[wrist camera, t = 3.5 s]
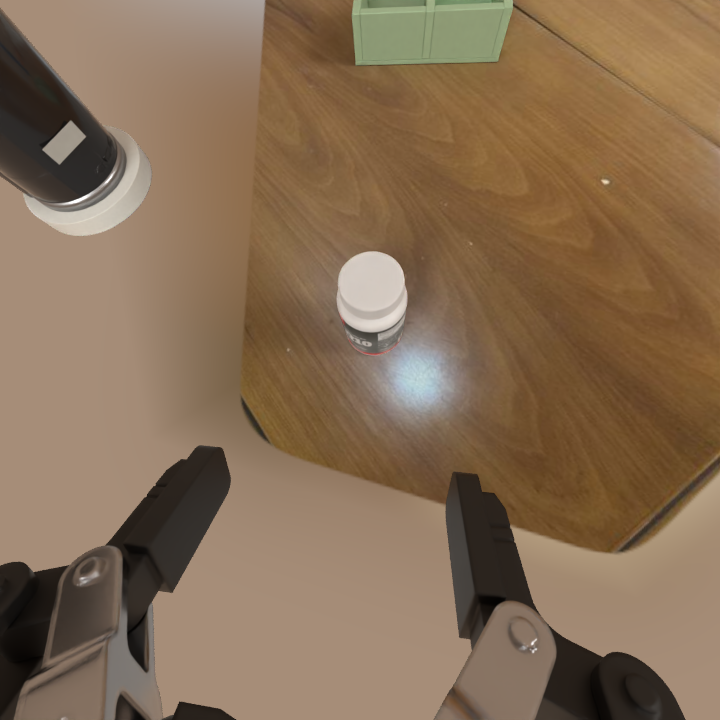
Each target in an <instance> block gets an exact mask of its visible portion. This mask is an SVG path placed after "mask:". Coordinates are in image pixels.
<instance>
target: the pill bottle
mask: <svg viewBox="0 0 720 720" xmlns="http://www.w3.org/2000/svg"><path fill="white" fill-rule="evenodd" d="M404 283H405V280H404V273H403V270H402V268H401V266H400V265H399V263H398V262H397V261H396V260H395V259H394V258H392V257H391V256H389V255H387V254H385V253H382V252H377V251H369V252H363V253H360V254H358V255H355V256H354V257H352V258H351V259H349V260H348V261H347V262H346V263H345V265H344V266H343V267H342V269H341V271H340V273H339V277H338V288H339V289H338V293H337V307H338V311H339V314H340V317H341V320H342V323H343V326H344V329H345V332H346V335H347V338H348V340H349V342H350V343H351V345H352V346H353V347H354V348H355V349H356V350H358V351H359V352H361V353H363V354H366V355H372V356H375V355H381V354H384V353H387V352H389V351H391V350H392V349H393V348H394V347H395V346H396V345H397V344H398V343H399V341H400V339H401V337H402V334H403V328H404V321H405V314H406V308H407V290H406V287H405V285H404Z"/></svg>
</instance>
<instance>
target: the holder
mask: <svg viewBox="0 0 720 720" xmlns="http://www.w3.org/2000/svg"><path fill="white" fill-rule="evenodd" d="M512 10H513V0H354V2H353V9H352V24H353V37H354V49H355V60H356V61H355V62H356V65H389V64H429V63H469V62H498V59H499V56H500V52H501V48H502V45H503V41H504V38H505V34H506V31H507V27H508V24H509V20H510V17H511V13H512Z"/></svg>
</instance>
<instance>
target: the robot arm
mask: <svg viewBox="0 0 720 720" xmlns="http://www.w3.org/2000/svg"><path fill="white" fill-rule="evenodd" d="M126 163H127V159H126V153H125V150H124V148H123V147H122V145H121V144H120V143H119V142H118V141H117V139H116V138H115V137H114V136H113V135H112V134H111V133H110V132H109V131H107V130H106V128H105V127H104V126H103V125H102V124H101V123H100V122H99V120H98V119H97V118H96V117H95V116H94V115H93V114H92V113H91V111H90V110H89V109H88V108H87V107H86V105H85V104H84V103H83V102H82V101H81V100H80V98H79V97H78V96H77V95H76V94H75V93H74V92H73V90H72V89H71V88H70V87H69V86H68V85H67V84H66V82H65V81H64V80H63V79H62V78H61V77H60V76H59V74H58V73H57V72H56V71H55V70H54V69H53V68H52V66H51V65H50V64H49V63H48V62H47V61H46V60H45V58H44V57H43V56H42V55H41V54H40V53H39V52H38V50H37V49H36V48H35V47H34V46H33V45H32V43H31V42H30V41H29V40H28V39H27V38H26V37H25V36H24V35H23V33H22V32H21V31H20V30H19V29H18V28H17V26H16V25H15V24H14V23H13V22H12V21H11V20H10V18H9V17H8V16H7V15H6V14H5V13H4V11H3V10H2V9H1V8H0V176H1V177H2V178H3V179H5V180H6V181H8V182H9V183H11V184H12V185H14V186H15V187H16V188H18V189H19V190H20V191H22V192H23V193H25V194H26V195H27V196H29V197H31V198H35V199H36V200H38V201H39V202H40V203H42V204H43V205H44V206H46V207H48V208H49V209H52V210H55V211H59V212H74V211H79V210H83V209H86V208H88V207H91V206H93V205H95V204H97V203H98V202H100V201H102V200H103V199H104V198H106V197H107V196H108V195H109V194H110V193H111V192H112V191H113V190H114V189H115V188H116V187H117V185H118V184H119V182H120V181H121V179H122V177H123V175H124V172H125V169H126ZM230 482H231V477H230V473H229V469H228V466H227V462H226V458H225V455H224V451H223V449H222V448H220V447H210V446H198V447H196V448H195V450H194V451H193V452H192V453H191V455H190V456H189V457H188V459H187V460H184V459H181V460H180V461H178V462H177V463H176V464H174V465H173V466H172V467H170V468H169V469H168V470H166V472H165V473H164V474H163V476H161V478H160V479H159V480H158V481H157V483H156V486H153V488H152V489H151V490H150V491H149V493H148V494H147V497H145V498H144V499H143V500H142V501H141V503H140V504H139V505H138V506H137V508H136V509H135V510H134V511H133V512H132V514H131V515H130V516H129V517H128V519H127V520H126V521H125V522H124V524H123V525H122V526H121V528H120V529H119V530H118V531H117V532H116V534H115V535H114V536H113V537H112V539H111V540H110V541H109V542H108V543H107V544H106V545H105V546H101V547H97V548H94V549H92V550H90V551H88V552H86V553H84V554H83V555H82V556H80V557H78V558H77V559H76V560H75V561H74V562H72V564H71V565H68V566H63V567H58V568H53V569H48V570H42V571H38V572H33V571H32V570H31V569H30V568H29V567H28V566H27V565H26V564H25V563H23V562H11V563H7V564H4V565H1V566H0V720H236V719H234V718H233V717H231V716H230V715H228V714H227V713H225V712H224V711H223V710H221V709H218V708H212V707H207V706H201V705H196V704H191V703H185V702H179V704H178V706H177V709H176V711H175V713H174V715H171V716H168V717H166V718H163V713H162V703H161V697H160V693H159V689H158V686H157V682H156V677H155V657H154V626H153V605H152V601H153V599H154V597H155V595H156V594H157V592H158V591H163V592H170V593H172V592H173V590H174V589H175V587H176V585H177V584H178V582H179V580H180V578H181V576H182V574H183V573H184V571H185V569H186V567H187V565H188V564H189V562H190V560H191V558H192V557H193V555H194V553H195V551H196V549H197V548H198V546H199V544H200V542H201V540H202V539H203V537H204V535H205V533H206V531H207V530H208V528H209V526H210V524H211V522H212V521H213V519H214V517H215V515H216V514H217V511H218V510H219V508H220V506H221V505H222V503H223V501H224V499H225V497H226V496H227V494H228V491H229V488H230ZM446 525H447V533H448V543H449V550H450V560H451V568H452V577H453V586H454V595H455V604H456V612H457V621H458V630H459V637H460V638H466V639H470V640H471V647H472V652H471V654H470V656H469V657H468V659H467V661H466V663H465V665H464V667H463V669H462V670H461V672H460V674H459V676H458V678H457V680H456V682H455V683H454V685H453V687H452V688H451V690H450V691H449V693H448V694H447V696H446V698H445V700H444V701H443V703H442V706H441V707H440V709H439V710H438V712H437V714H436V716H435V718H434V720H685V718H684V715H683V713H682V711H681V709H680V707H679V705H678V703H677V701H676V699H675V697H674V695H673V694H672V692H671V691H670V689H669V688H668V686H667V685H666V684H665V683H664V681H663V680H662V679H661V678H660V677H659V676H658V675H657V674H656V673H655V672H654V671H653V670H652V669H651V668H650V667H649V666H647V665H646V664H645V663H643V662H642V661H640V660H638V659H637V658H635V657H633V656H631V655H629V654H625V653H622V652H612V653H609V654H607V655H606V656H605V657H601V656H599V655H597V654H595V653H593V652H591V651H589V650H587V649H585V648H583V647H581V646H579V645H577V644H575V643H573V642H571V641H569V640H568V639H566V638H564V637H562V636H561V635H560V634H558V633H557V632H556V631H554V630H553V629H552V628H551V627H550V626H549V625H548V624H547V623H546V622H545V621H544V619H543V618H542V617H541V615H540V614H539V612H538V611H537V609H536V607H535V605H534V603H533V600H532V598H531V594H530V591H529V588H528V584H527V581H526V577H525V574H524V571H523V567H522V564H521V560H520V557H519V554H518V550H517V547H516V543H514V537H513V533H512V530H511V529H510V523H509V520H508V516H507V513H506V509H505V507H504V506H503V505H502V503H501V502H500V501H499V499H498V498H497V496H496V495H495V494H494V493H488V492H482V490H481V486H480V481H479V478H478V475H477V474H472V473H462V472H453V474H452V477H451V482H450V487H449V491H448V496H447V501H446Z"/></svg>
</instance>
